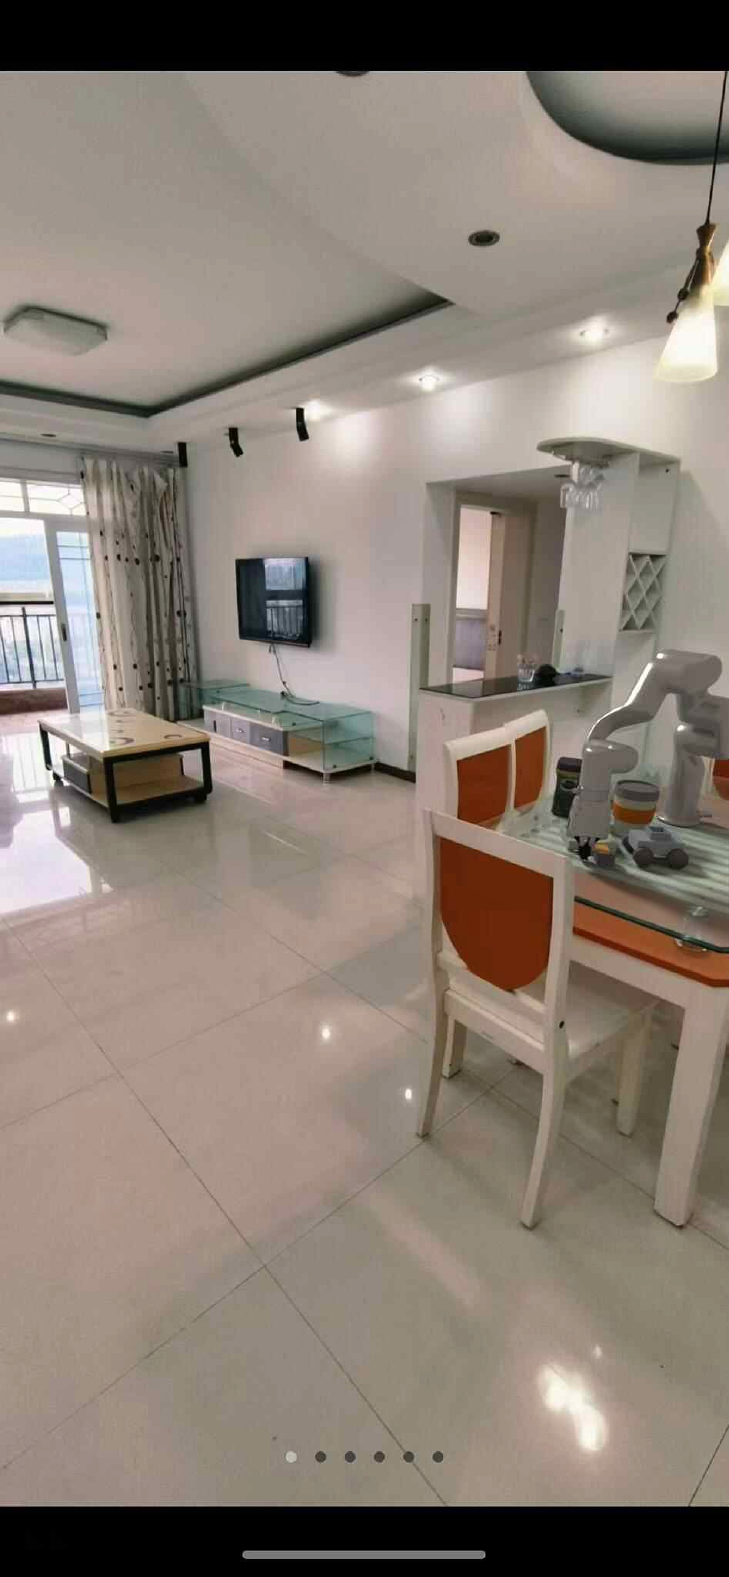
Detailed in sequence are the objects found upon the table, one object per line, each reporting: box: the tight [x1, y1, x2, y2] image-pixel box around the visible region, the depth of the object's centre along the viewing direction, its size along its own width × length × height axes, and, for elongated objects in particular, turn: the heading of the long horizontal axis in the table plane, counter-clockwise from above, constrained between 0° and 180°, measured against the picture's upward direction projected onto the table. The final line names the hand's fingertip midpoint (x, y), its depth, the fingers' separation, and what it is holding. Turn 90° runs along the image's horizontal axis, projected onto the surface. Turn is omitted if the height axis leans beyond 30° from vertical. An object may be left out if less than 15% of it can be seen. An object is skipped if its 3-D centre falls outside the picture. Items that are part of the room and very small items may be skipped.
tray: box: [558, 823, 618, 854], centre depth 190 cm, size 13×13×3 cm
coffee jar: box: [550, 756, 583, 818], centre depth 210 cm, size 10×8×19 cm
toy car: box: [621, 825, 690, 870], centre depth 180 cm, size 14×12×8 cm
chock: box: [592, 844, 617, 868], centre depth 177 cm, size 4×4×4 cm
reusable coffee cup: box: [612, 779, 661, 838], centre depth 196 cm, size 13×13×15 cm
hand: (583, 858), depth 178 cm, fingers closed
